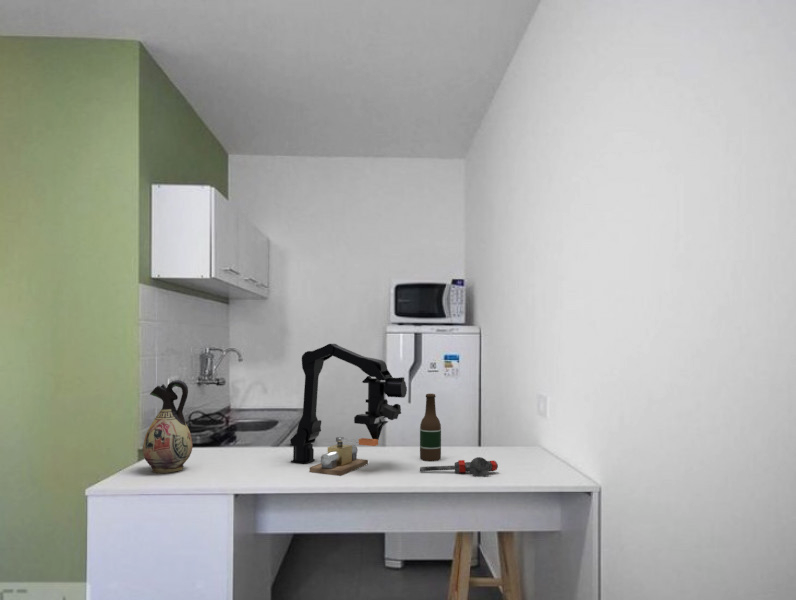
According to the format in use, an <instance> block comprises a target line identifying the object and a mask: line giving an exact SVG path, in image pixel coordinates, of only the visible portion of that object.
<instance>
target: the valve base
mask: <svg viewBox="0 0 796 600" xmlns="http://www.w3.org/2000/svg"><path fill="white" fill-rule="evenodd" d="M357 454H358V447H357V446H356V444H344V442H337V443H336V444H334V445H331V446H328V447H327V453H324V454H322V455H321V456H320V463H318V464H314V465H312V466H309V473H315V474H324V475H332V476H343V475H346V474H349V473H351V472H354V471H355V469H356V470H357V468H358V469H359V467H360V468H363V467H365V466H367V465H369V459H364V458H363V459H362V458H357V456H358V455H357ZM366 464H367V465H366ZM364 465H365V466H364ZM362 466H363V467H362Z"/></svg>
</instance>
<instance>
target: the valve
mask: <svg viewBox="0 0 796 600" xmlns="http://www.w3.org/2000/svg"><path fill="white" fill-rule="evenodd" d="M498 468H499V465H498V462H497V461H495V460H486V458H483V457H480V456H479V457H474V458H472V460H471V461H467V462H466V461H465V460H464V459H462V460H459V459H458V461H456V462H454V465H432V466H419V472H425V471H426V472H430V471H435V472H436V471H454V473H456V474H459V475H460V474H461V475H462V474H463V475H464V474H466V473H471V475H473V477H475V478H476V477H478V478H481V477H482V478H484V477H486V476H487V475H488V474H489V472H494V471H497V470H498Z"/></svg>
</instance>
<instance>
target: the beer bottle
mask: <svg viewBox="0 0 796 600" xmlns="http://www.w3.org/2000/svg"><path fill="white" fill-rule="evenodd" d="M436 397H437V395H436V394H435V393H427V394H425V398H426V399H425V410H424V411H425V413H424V416H423V418H422V419H421V421H420V425H419V459H420V460H421V461H424V462H439V461H440V460H441V459H442V428H441V427H442V424H441V422H440V421H441V420H440V419H439V418H438V416H437V412H436V411H437V410H436V409H437V408H436Z"/></svg>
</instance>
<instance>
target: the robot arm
mask: <svg viewBox="0 0 796 600" xmlns="http://www.w3.org/2000/svg"><path fill="white" fill-rule="evenodd" d="M332 357H335V358H337V359H339V360H342V361H344V362H346V363H349V364H351V365H352V366H355V367H358V369H360V370H361V371H362V372H363V373H365V374H366V375H367V376H366V377H365V378H364V379H363V380H362V382H361V383H363V384H367V399H365V403H367V411H365V412H364V413H359V414H356V415H354V417H353V418H354V419H353V424H355V425H356V424H359V425H365V427H366V429H367V430H368V432H369V434H370V436H371V439H378V441H379V440H380V436H381V433H382V430H383V427H384V426H385V425H387V424H388V423H389V421H388V420H390V421H393V420H398V418H399V415H401V414H402V408H401V404H399V403H395V404H393V405H392V404H389V403H388V402H389V401H388V399H386V397H385V395H386V396H387V398H402V399H405V397H406V395H407V391H408V389H407V383H406V381H405V377H403V376H402V377H393V375H392V374H391V373H390V371H389V370H388V367H387V366H388V365H387V364H386V362H385V361H384V360H382V359H379V358H374V357H373V358H372V357H367V356H364V355H361V354H359V353H356V352H354V351H352V350H350V349H347V348H345V347H342V346H341V345H339V344H337V343H328V344H326V345H324V346H322V347H320V348H316V349H314V350H308V351H305V352H304V353H303V354H302V355H301V368H302V370H303V373H304V390H303V391H304V393H303V402H302V403H303V406H302V416H301V417H300V420H299V422H298V425H297V428H296V433H295V434H294V435H293V436H292V437H291V439H289V441H290V445H291V446H293V450H292V451H293V452H292V453H293V454H292V455H293V456H292V458H293V459H291V460H290V463H295V464H296V463H297V464H305V465H306V464H308V463H311V462H314V461H316V459H315V458H314V451H315V450H314V449H315V448H313V447H314V446H313V445H314V443H315V442H316V439H317V437H319V435H320V433H321V432H322V428H321V426H322V420H320V419H319V420H318V416H317V405H318V391H319V390H318V388H319V378H320V377H319V376H320V374H321V372H322V369H323V367H324V363H325V361H328V360H329V359H330V358H332ZM386 419H388V420H386Z"/></svg>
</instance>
